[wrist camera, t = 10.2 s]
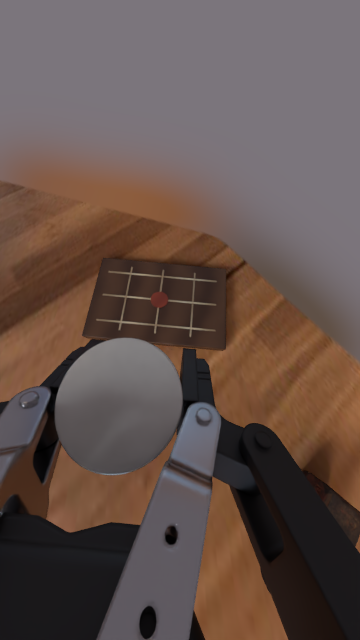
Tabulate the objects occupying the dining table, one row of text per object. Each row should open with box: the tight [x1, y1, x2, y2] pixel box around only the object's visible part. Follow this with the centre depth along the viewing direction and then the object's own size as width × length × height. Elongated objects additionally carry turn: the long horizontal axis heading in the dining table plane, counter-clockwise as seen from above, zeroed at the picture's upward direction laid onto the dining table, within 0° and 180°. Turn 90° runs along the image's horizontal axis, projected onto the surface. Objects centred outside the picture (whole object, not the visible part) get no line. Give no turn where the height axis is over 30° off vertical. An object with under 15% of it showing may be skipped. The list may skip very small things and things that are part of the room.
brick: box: [261, 471, 360, 594], centre depth 18 cm, size 11×4×5 cm, turn 140°
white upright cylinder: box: [55, 338, 183, 475], centre depth 10 cm, size 4×4×8 cm
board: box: [82, 258, 226, 351], centre depth 28 cm, size 20×13×2 cm, turn 85°
